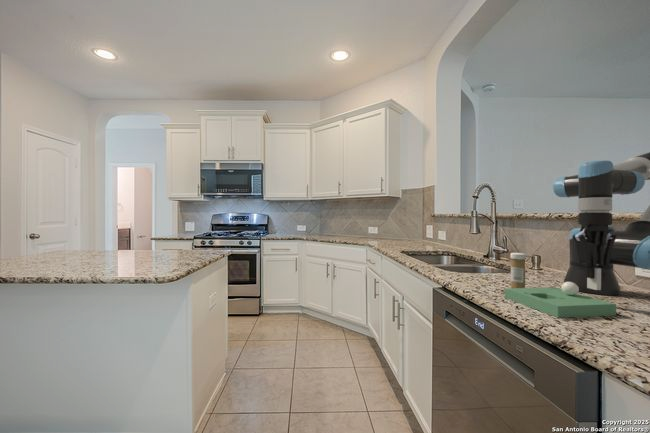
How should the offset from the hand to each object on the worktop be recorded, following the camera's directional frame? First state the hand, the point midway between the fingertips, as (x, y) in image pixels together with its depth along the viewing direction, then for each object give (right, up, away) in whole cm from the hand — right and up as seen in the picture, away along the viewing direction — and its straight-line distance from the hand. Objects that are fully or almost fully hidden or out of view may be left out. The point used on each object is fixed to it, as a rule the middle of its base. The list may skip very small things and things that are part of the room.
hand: (593, 288), depth 84 cm
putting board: (-13, -5, -2) cm, 14 cm away
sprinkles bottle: (-13, -5, +16) cm, 20 cm away
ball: (-8, 0, -1) cm, 8 cm away
